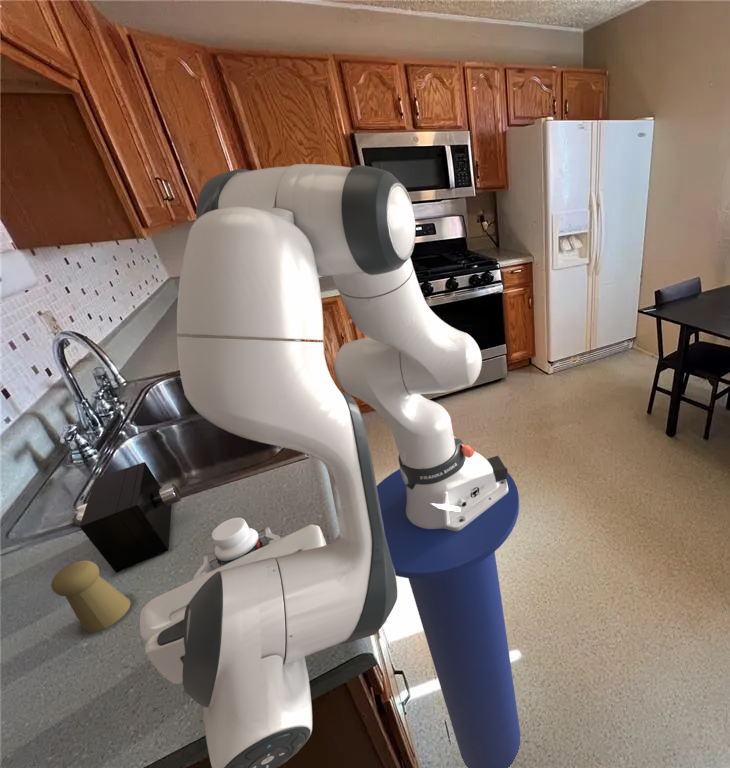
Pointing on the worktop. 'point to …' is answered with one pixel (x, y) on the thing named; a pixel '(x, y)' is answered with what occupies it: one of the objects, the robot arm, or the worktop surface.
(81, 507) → the stove knob
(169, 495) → the push knob
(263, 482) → the worktop surface
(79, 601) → the cork
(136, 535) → the control block
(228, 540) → the pill bottle
